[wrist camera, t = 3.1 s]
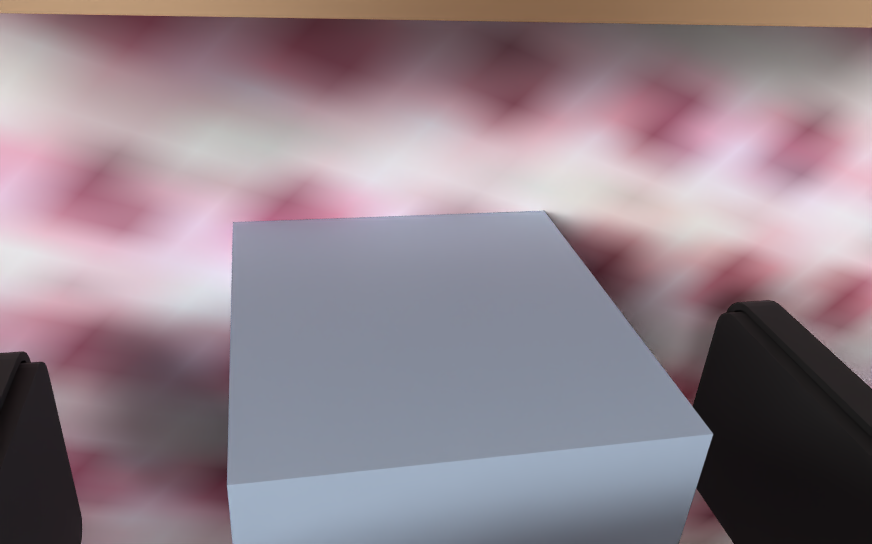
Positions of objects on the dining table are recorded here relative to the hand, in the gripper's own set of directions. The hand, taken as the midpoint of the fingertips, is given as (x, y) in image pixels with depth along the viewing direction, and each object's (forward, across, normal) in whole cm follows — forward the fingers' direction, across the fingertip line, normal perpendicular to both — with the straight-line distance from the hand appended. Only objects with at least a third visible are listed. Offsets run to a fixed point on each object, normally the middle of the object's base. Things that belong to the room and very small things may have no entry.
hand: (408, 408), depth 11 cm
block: (+2, 0, 0) cm, 2 cm away
